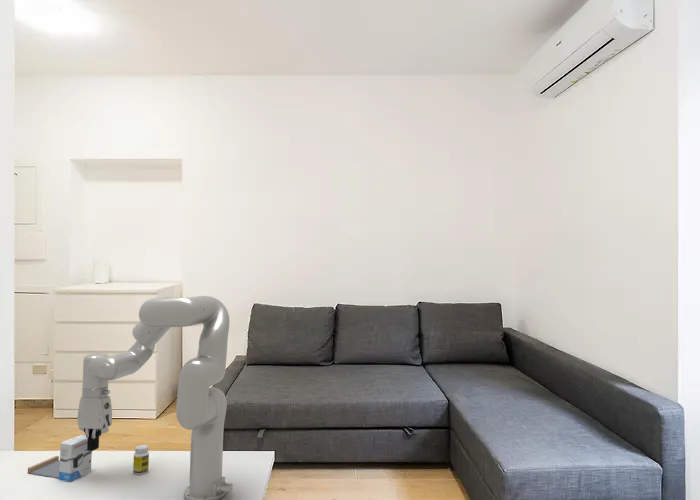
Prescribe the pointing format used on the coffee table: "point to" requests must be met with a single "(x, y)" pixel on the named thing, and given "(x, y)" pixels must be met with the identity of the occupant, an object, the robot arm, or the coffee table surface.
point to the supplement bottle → (141, 460)
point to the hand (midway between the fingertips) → (92, 449)
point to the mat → (46, 468)
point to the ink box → (74, 458)
